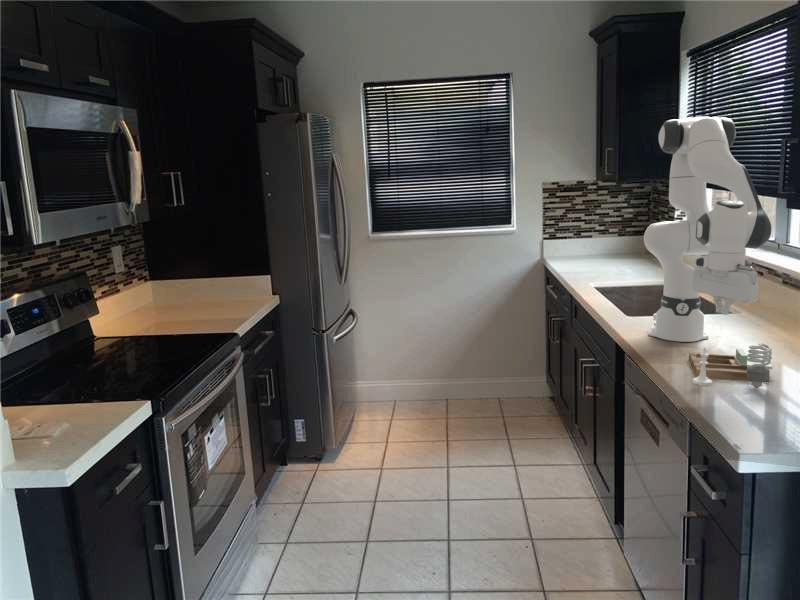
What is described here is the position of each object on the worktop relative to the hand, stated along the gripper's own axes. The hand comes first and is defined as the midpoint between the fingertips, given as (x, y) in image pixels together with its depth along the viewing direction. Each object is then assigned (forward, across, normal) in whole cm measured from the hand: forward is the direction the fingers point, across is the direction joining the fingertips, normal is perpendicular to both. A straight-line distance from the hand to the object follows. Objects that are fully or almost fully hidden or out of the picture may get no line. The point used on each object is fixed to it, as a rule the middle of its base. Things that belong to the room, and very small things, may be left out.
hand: (722, 313), depth 179 cm
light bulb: (+19, -9, -5) cm, 21 cm away
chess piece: (+19, -1, +6) cm, 20 cm away
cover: (+15, +1, -13) cm, 20 cm away
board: (+18, +5, -8) cm, 20 cm away
